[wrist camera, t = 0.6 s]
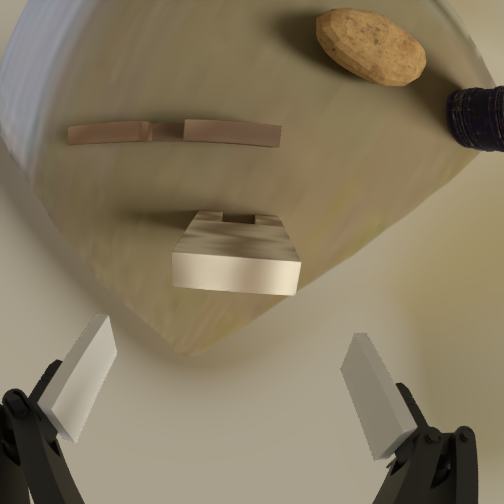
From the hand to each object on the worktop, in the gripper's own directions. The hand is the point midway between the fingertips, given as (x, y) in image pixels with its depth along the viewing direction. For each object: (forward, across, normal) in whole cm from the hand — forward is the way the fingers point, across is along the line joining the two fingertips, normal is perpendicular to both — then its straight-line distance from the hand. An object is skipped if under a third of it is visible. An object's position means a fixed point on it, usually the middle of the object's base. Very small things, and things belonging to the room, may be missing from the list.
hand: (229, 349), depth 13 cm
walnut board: (+22, -8, +11) cm, 26 cm away
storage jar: (+23, +34, +22) cm, 46 cm away
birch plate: (+23, 0, 0) cm, 23 cm away
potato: (+23, +13, +25) cm, 36 cm away
